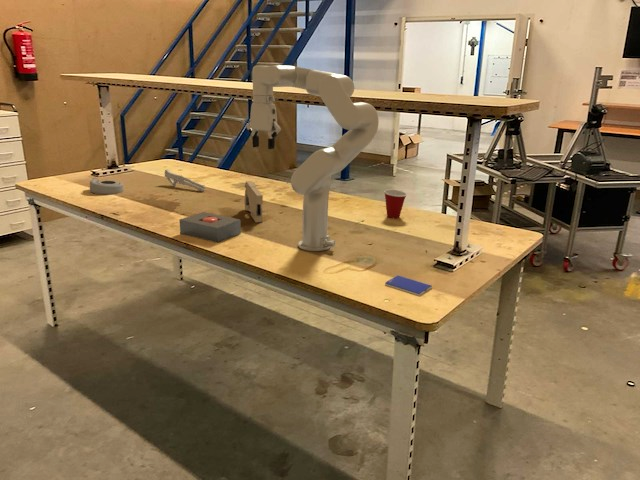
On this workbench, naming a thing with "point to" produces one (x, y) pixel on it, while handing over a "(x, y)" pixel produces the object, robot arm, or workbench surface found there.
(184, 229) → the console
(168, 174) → the gun
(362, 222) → the workbench surface
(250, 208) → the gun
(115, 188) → the turbocharger housing
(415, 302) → the workbench surface
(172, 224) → the workbench surface
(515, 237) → the workbench surface
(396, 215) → the plastic cup
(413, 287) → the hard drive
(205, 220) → the button
